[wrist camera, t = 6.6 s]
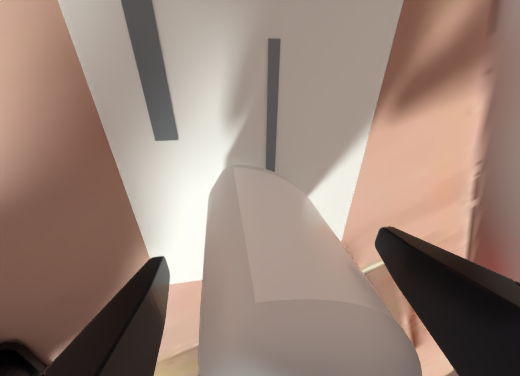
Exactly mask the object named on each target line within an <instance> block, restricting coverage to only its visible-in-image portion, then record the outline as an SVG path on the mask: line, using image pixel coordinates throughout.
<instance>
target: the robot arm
mask: <svg viewBox="0 0 520 376" xmlns="http://www.w3.org/2000/svg"><path fill="white" fill-rule="evenodd" d="M375 247H376V249H377V251H378V253H379V255H380V256H381V258H382V260H383V262H384V264H385V265H386V267H387V269H388V271H389V273H390V274H391V276H392V278H393V279H394V281H395V283H396V284H397V286H398V287H399V289H400V290H401V292H402V293H403V295H404V296H405V298H406V299H407V301H408V302H409V304H410V305H411V306H412V308H413V309H414V311H415V312H416V314H417V315H418V317H419V318H420V320H421V321H422V323H423V324H424V326H425V327H426V328H427V330H428V331H429V333H430V334H431V336H432V337H433V339H434V340H435V342H436V343H437V345H438V346H439V347H440V349H441V350H442V352H443V353H444V355H445V356H446V358H447V359H448V361H449V362H450V364H451V365H452V366H453V368H454V369H455V371H456V372H457V374H458V375H459V376H520V283H519V282H516V281H515V282H514V281H513V280H512V279H509V278H507V277H505V276H503V275H500V274H498V273H496V272H494V271H491V270H489V269H487V268H485V267H482V266H480V265H478V264H475V263H473V262H471V261H469V260H466V259H464V258H462V257H460V256H457V255H455V254H453V253H451V252H448V251H446V250H444V249H441V248H439V247H437V246H435V245H432V244H430V243H428V242H426V241H423V240H421V239H419V238H417V237H414V236H412V235H410V234H407V233H405V232H403V231H401V230H398V229H396V228H394V227H390V226H389V227H382V228H380V230H379V232H378V235H377V238H376V240H375ZM169 282H170V271H169V268H168V265H167V262H166V259H165V257H164V256H158V257H152V258H150V259H149V260H148V261H147V262H146V263H145V265H144V266H143V267H142V268H141V269H140V270H139V271H138V272H137V273H136V274H135V275H134V276H133V277H132V278H131V279H130V280H129V281H128V283H127V284H126V285H125V286H124V287H123V288H122V289H121V290H120V291H119V292H118V293H117V294H116V295H115V296H114V297H113V298H112V300H111V301H110V302H109V303H108V304H107V305H106V306H105V307H104V308H103V309H102V310H101V311H100V312H99V313H98V314H97V315H96V316H95V318H94V319H93V320H92V321H91V322H90V323H89V324H88V325H87V326H86V327H85V328H84V329H83V330H82V331H81V332H80V333H79V334H78V336H77V337H76V338H75V339H74V340H73V341H72V342H71V343H70V344H69V345H68V346H67V347H66V348H65V349H64V350H63V351H62V353H61V354H60V355H59V356H58V357H57V358H56V359H55V360H54V361H53V362H52V363H51V364H50V365H49V366H48V367H47V368H46V367H45V366H44V365H43V364H42V363H41V362H40V361H39V360H37V359H36V358H35V357H34V356H33V355H32V354H31V353H30V352H29V351H28V350H26V349H25V348H24V347H23V346H22V345H21V344H19V343H5V344H0V376H153V375H154V371H155V366H156V362H157V357H158V353H159V348H160V344H161V339H162V335H163V330H164V325H165V318H166V309H167V300H168V291H169Z"/></svg>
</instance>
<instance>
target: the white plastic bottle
mask: <svg viewBox="0 0 520 376" xmlns="http://www.w3.org/2000/svg"><path fill="white" fill-rule="evenodd" d="M198 367H199V376H422V370H421V365H420V361H419V358H418V355H417V352H416V350H415V348H414V346H413V344H412V343H411V341H410V339H409V338H408V336H407V335H406V333H405V332H404V330H403V328H402V327H401V326H400V324H399V323H398V321H397V320H396V318H395V317H394V316H393V314H392V313H391V311H390V310H389V309H388V307H387V306H386V304H385V303H384V301H383V300H382V299H381V297H380V296H379V294H378V293H377V292H376V290H375V289H374V287H373V286H372V285H371V283H370V282H369V280H368V279H367V278H366V276H365V275H364V273H363V272H362V271H361V269H360V268H359V267H358V265H357V264H356V262H355V261H354V260H353V258H352V257H351V255H350V254H349V253H348V251H347V250H346V249H345V247H344V246H343V244H342V243H341V242H340V240H339V239H338V237H337V236H336V235H335V233H334V232H333V231H332V229H331V228H330V226H329V225H328V224H327V222H326V221H325V220H324V218H323V217H322V215H321V214H320V213H319V211H318V210H317V209H316V207H315V206H314V204H313V203H312V202H311V200H310V199H309V198H308V197H307V195H306V194H305V193H304V192H303V191H302V190H301V189H300V188H299V187H298V186H297V185H295V184H294V183H293V182H291V181H290V180H288V179H287V178H285V177H283V176H282V175H280V174H278V173H275V172H273V171H270V170H267V169H264V168H260V167H256V166H250V165H241V164H234V165H230V166H227V167H226V168H225V169H224V170H223V171H222V172H221V174H220V176H219V177H218V179H217V181H216V182H215V184H214V186H213V187H212V189H211V191H210V193H209V198H208V206H207V220H206V234H205V247H204V262H203V277H202V292H201V307H200V328H199V349H198Z"/></svg>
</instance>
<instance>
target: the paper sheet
mask: <svg viewBox="0 0 520 376" xmlns="http://www.w3.org/2000/svg"><path fill="white" fill-rule="evenodd" d="M403 1H404V0H58V3H59V6H60V8H61V11H62V14H63V17H64V20H65V22H66V25H67V28H68V31H69V34H70V36H71V39H72V42H73V45H74V47H75V50H76V53H77V56H78V59H79V61H80V64H81V67H82V70H83V73H84V75H85V78H86V81H87V84H88V87H89V89H90V92H91V95H92V98H93V101H94V103H95V106H96V109H97V112H98V115H99V117H100V120H101V123H102V126H103V129H104V131H105V134H106V137H107V140H108V143H109V145H110V148H111V151H112V154H113V157H114V159H115V162H116V165H117V168H118V170H119V173H120V176H121V179H122V182H123V184H124V187H125V190H126V193H127V196H128V198H129V201H130V204H131V207H132V210H133V212H134V215H135V218H136V221H137V224H138V226H139V229H140V232H141V235H142V238H143V240H144V243H145V246H146V249H147V252H148V254H149V257H150V258H152V257H158V256H164V257H165V259H166V262H167V265H168V268H169V271H170V282H169V284H176V283H183V282H190V281H197V280H202V277H203V262H204V247H205V234H206V220H207V206H208V198H209V193H210V191H211V189H212V187H213V186H214V184H215V182H216V181H217V179H218V177H219V176H220V174H221V172H222V171H223V170H224V169H225V168H226V167H227V166H230V165H234V164H241V165H250V166H256V167H260V168H264V169H267V170H270V171H273V172H275V173H278V174H280V175H282V176H283V177H285V178H287V179H288V180H290V181H291V182H293V183H294V184H295V185H297V186H298V187H299V188H300V189H301V190H302V191H303V192H304V193H305V194H306V195H307V197H308V198H309V199H310V200H311V202H312V203H313V204H314V206H315V207H316V209H317V210H318V211H319V213H320V214H321V215H322V217H323V218H324V220H325V221H326V222H327V224H328V225H329V226H330V228H331V229H332V231H333V232H334V233H335V235H336V236H337V237H338V239H339V240H340V242H341V241H342V237H343V233H344V229H345V225H346V221H347V217H348V214H349V210H350V206H351V202H352V198H353V194H354V190H355V187H356V183H357V179H358V175H359V171H360V167H361V163H362V160H363V156H364V152H365V148H366V144H367V140H368V136H369V133H370V129H371V125H372V121H373V117H374V113H375V109H376V106H377V102H378V98H379V94H380V90H381V86H382V82H383V79H384V75H385V71H386V67H387V63H388V59H389V55H390V51H391V48H392V44H393V40H394V36H395V32H396V28H397V24H398V21H399V17H400V13H401V9H402V5H403Z"/></svg>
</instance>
